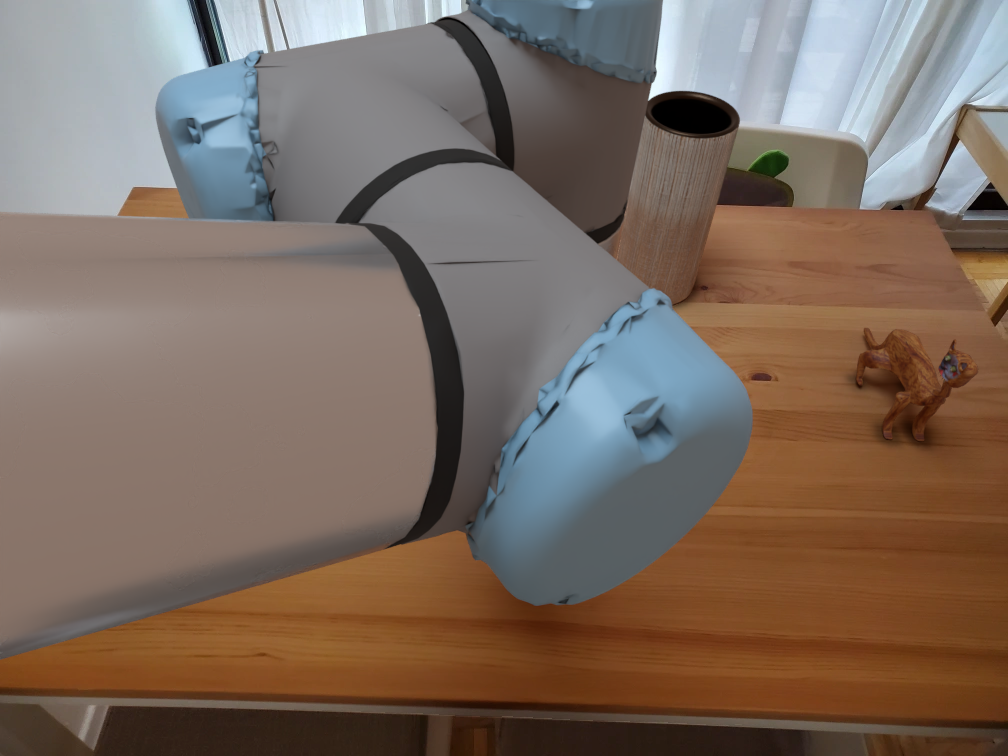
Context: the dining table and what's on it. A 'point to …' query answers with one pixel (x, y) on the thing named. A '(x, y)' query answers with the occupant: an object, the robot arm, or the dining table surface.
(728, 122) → the planter
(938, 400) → the cat figurine
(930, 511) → the dining table surface
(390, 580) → the dining table surface
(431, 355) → the robot arm
